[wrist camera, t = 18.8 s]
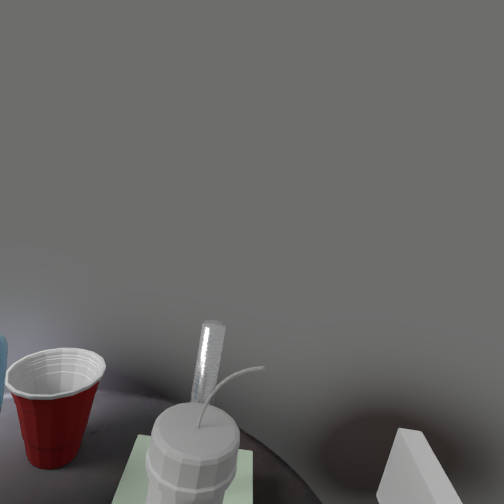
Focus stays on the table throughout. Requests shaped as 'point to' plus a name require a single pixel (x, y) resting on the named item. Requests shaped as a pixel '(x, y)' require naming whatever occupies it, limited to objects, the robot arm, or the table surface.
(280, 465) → the table surface
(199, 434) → the pipe
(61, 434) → the plastic cup
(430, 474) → the robot arm
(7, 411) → the table surface
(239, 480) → the pale mint square tile
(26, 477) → the table surface
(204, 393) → the post stand
